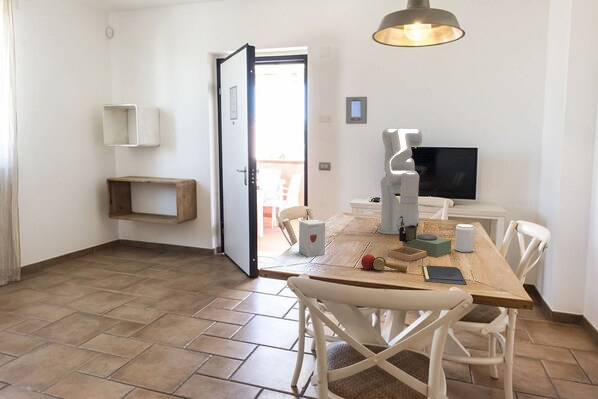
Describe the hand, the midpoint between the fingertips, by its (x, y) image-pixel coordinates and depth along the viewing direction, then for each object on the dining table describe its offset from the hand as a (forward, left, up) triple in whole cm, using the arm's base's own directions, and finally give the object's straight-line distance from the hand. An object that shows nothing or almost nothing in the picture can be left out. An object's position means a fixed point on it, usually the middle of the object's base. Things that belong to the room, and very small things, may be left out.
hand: (407, 239), depth 184 cm
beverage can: (+11, +29, -8) cm, 32 cm away
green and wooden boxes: (0, +8, -8) cm, 11 cm away
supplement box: (-31, -29, -8) cm, 43 cm away
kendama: (+5, -23, -8) cm, 25 cm away
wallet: (+24, -11, -8) cm, 28 cm away
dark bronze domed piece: (0, 0, -2) cm, 2 cm away
